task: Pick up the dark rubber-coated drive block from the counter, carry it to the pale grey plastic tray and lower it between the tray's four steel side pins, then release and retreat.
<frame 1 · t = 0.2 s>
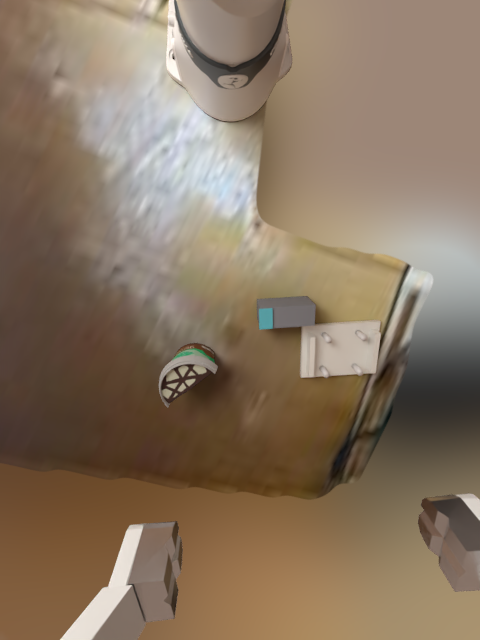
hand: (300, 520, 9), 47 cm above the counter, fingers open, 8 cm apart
drive: (281, 307, 57), on the counter
pin tray: (337, 348, 60), on the counter
food container: (187, 353, 60), on the counter
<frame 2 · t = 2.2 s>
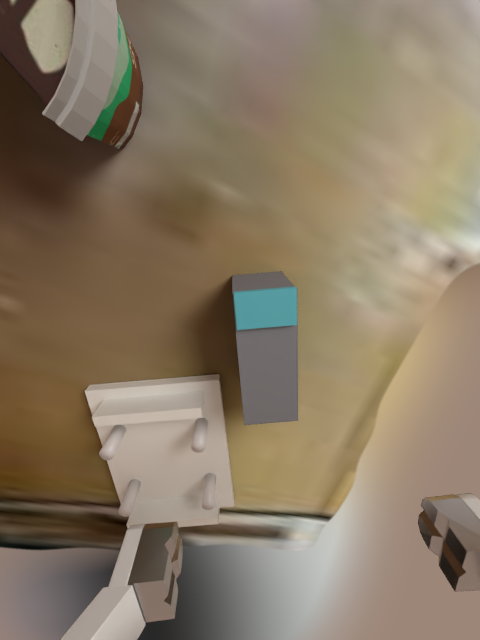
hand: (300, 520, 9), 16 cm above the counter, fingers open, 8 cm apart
drive: (260, 329, 25), on the counter
pin tray: (169, 446, 29), on the counter
food container: (101, 50, 18), on the counter
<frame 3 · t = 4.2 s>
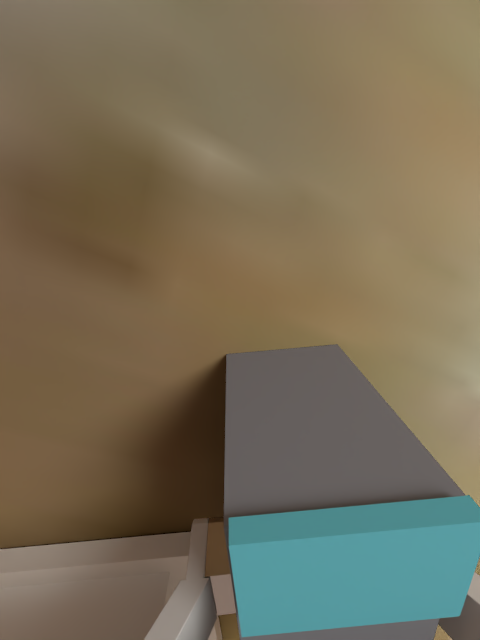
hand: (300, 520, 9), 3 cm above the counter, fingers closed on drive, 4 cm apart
drive: (285, 456, 12), on the counter, touching gripper
pin tray: (114, 636, 16), on the counter
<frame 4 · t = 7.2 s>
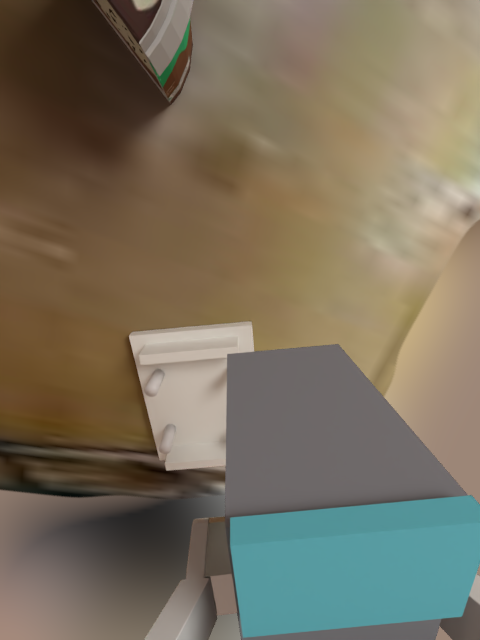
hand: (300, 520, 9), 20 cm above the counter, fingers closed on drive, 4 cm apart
drive: (286, 456, 12), point 17 cm above the counter, touching gripper
pin tray: (202, 393, 31), on the counter
food container: (155, 11, 20), on the counter
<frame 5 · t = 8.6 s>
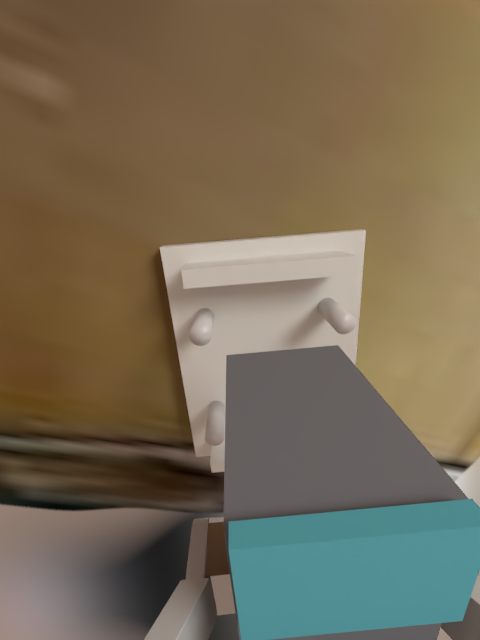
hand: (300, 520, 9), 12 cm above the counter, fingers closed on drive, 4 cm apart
drive: (285, 457, 12), point 9 cm above the counter, touching gripper
pin tray: (266, 353, 20), on the counter
when the fingers open (5 cm above the counter, at t = 10.0 s): drive drops 1 cm, resting on pin tray.
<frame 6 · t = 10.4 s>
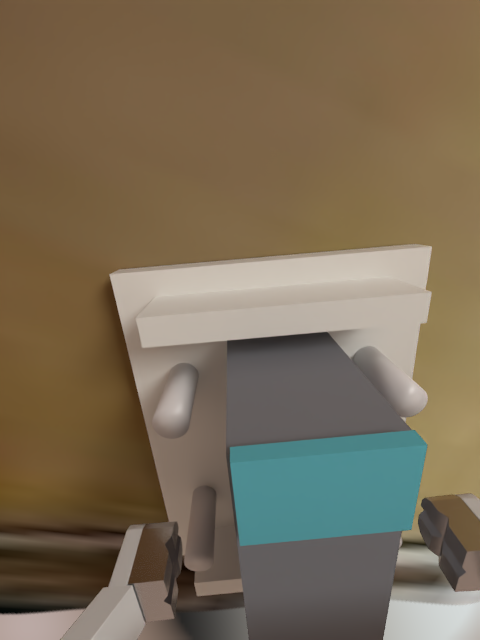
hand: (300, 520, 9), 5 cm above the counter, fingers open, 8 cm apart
drive: (279, 431, 13), point 1 cm above the counter, touching pin tray
pin tray: (275, 418, 14), on the counter
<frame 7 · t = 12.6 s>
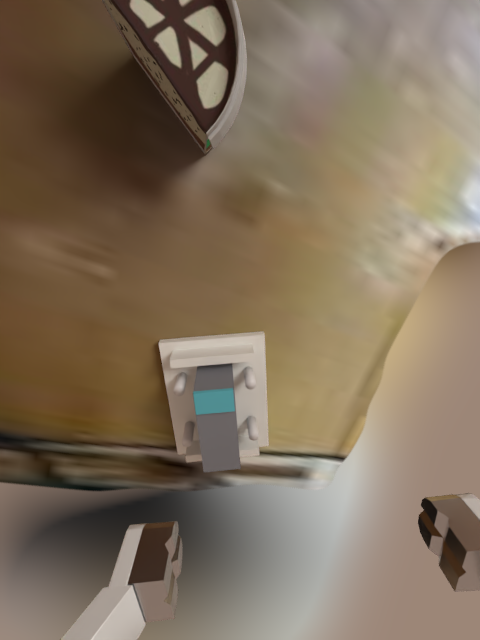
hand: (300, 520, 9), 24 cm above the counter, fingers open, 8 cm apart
drive: (218, 398, 35), point 1 cm above the counter, touching pin tray
pin tray: (218, 394, 36), on the counter
food container: (197, 84, 25), on the counter
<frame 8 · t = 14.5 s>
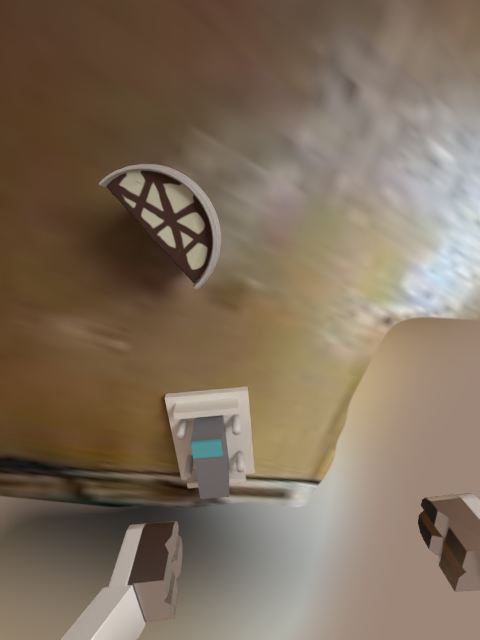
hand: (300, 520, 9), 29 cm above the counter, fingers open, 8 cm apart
drive: (213, 437, 43), point 1 cm above the counter, touching pin tray
pin tray: (213, 433, 44), on the counter
food container: (190, 216, 33), on the counter
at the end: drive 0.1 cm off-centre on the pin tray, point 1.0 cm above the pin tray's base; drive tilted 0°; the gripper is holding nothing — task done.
